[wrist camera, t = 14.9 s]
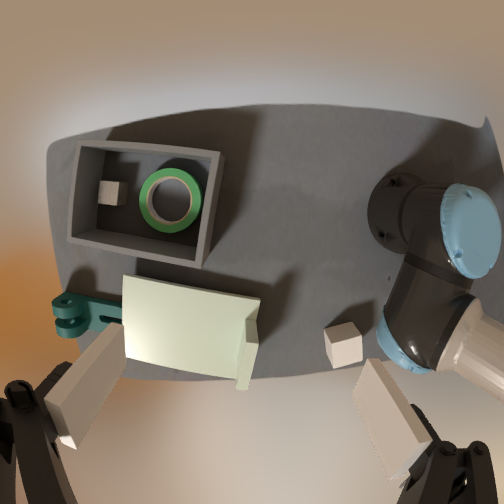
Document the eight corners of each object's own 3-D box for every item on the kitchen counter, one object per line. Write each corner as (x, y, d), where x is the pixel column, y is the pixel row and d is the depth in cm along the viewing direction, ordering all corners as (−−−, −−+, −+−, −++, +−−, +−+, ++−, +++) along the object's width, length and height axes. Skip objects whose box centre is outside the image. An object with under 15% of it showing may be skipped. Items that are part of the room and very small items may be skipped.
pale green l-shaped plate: (259, 295, 52) (264, 321, 41) (242, 371, 56) (243, 406, 45) (128, 270, 50) (104, 290, 39) (127, 349, 53) (109, 378, 43)
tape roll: (142, 227, 49) (136, 229, 46) (147, 167, 46) (141, 166, 44) (200, 233, 49) (197, 236, 47) (207, 171, 47) (204, 170, 44)
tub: (225, 158, 46) (220, 151, 37) (209, 254, 50) (200, 269, 41) (102, 145, 45) (77, 139, 36) (91, 232, 49) (66, 241, 40)
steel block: (128, 182, 47) (119, 182, 43) (126, 203, 48) (116, 205, 44) (110, 180, 47) (100, 180, 43) (107, 201, 47) (97, 203, 44)
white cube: (351, 321, 53) (362, 335, 47) (353, 344, 55) (362, 360, 49) (323, 328, 53) (331, 343, 48) (326, 352, 55) (333, 368, 49)
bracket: (69, 318, 53) (51, 333, 45) (65, 291, 52) (45, 304, 44) (137, 334, 54) (123, 353, 46) (135, 305, 52) (120, 322, 45)
